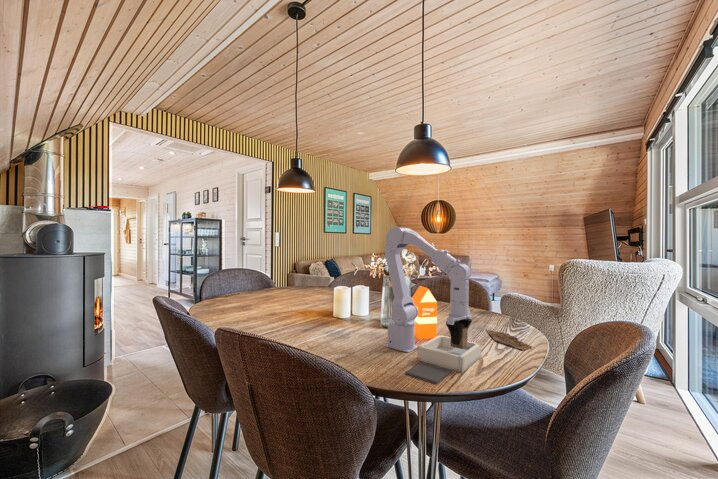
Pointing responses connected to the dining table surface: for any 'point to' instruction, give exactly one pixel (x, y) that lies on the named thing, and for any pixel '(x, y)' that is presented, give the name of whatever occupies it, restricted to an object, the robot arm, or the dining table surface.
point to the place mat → (429, 372)
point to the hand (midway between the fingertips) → (458, 342)
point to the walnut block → (463, 339)
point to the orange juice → (425, 314)
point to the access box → (449, 353)
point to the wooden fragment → (508, 340)
